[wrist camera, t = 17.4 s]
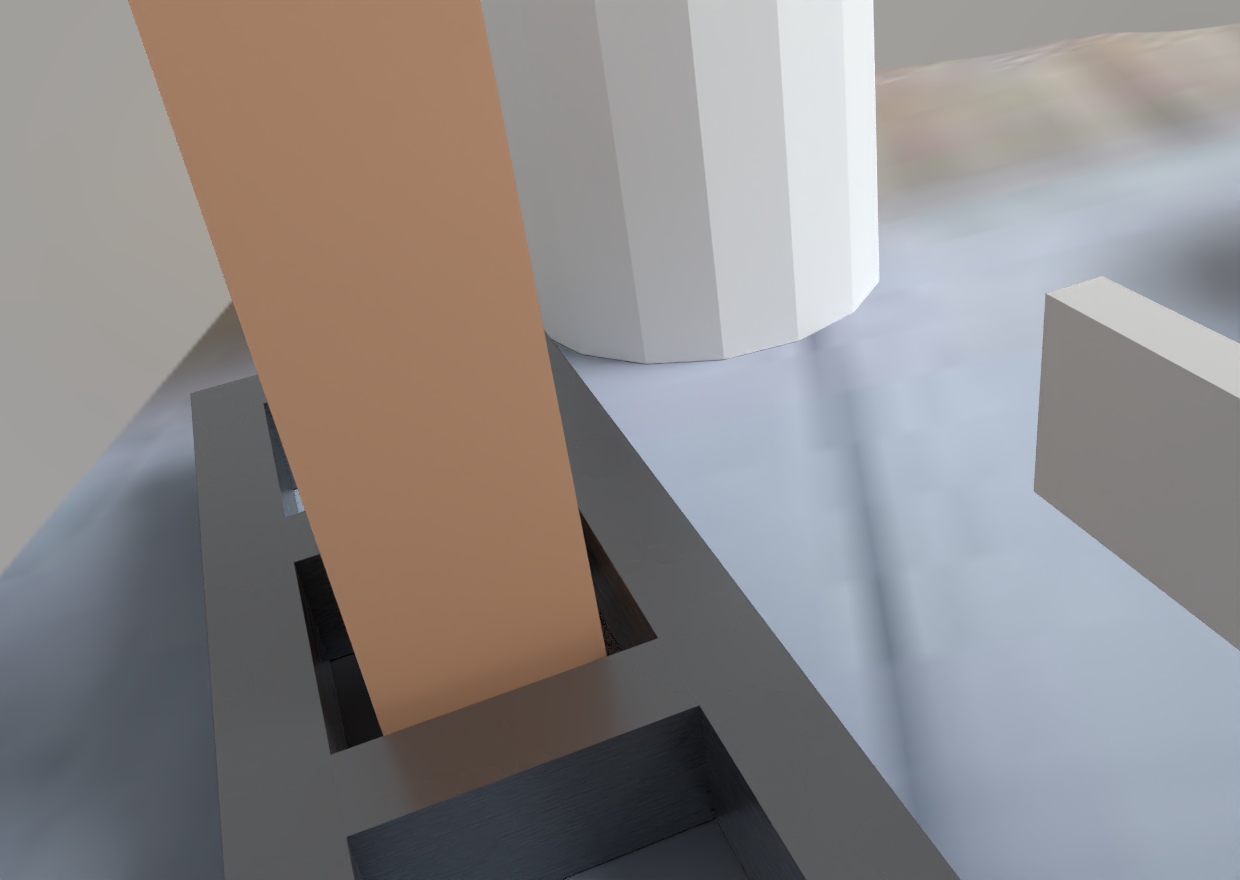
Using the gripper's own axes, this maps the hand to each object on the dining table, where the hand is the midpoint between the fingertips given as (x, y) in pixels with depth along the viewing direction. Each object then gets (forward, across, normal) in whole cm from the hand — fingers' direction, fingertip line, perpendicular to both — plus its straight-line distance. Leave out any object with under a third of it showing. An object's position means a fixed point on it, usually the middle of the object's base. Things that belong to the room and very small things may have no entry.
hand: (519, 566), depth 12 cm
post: (+10, 0, -10) cm, 14 cm away
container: (+28, +13, -11) cm, 32 cm away
